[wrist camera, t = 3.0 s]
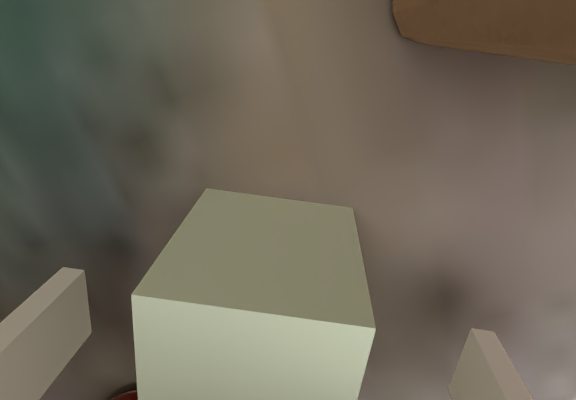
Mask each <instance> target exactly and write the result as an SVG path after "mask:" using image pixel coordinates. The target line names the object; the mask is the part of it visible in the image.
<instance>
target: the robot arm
mask: <svg viewBox="0 0 576 400" xmlns="http://www.w3.org/2000/svg"><path fill="white" fill-rule="evenodd" d="M91 333H92V330H91V321H90V312H89V304H88V295H87V286H86V277H85V270H80V269H73V268H67V267H62V268H61V269H60V270H59V271H58V272H57V273H56V274H55V275H53V276H52V277H51V278H50V279H49V280H48V281H47V282H45V283H44V284H43V285H42V286H41V287H40V288H39V289H38V290H36V291H35V292H34V293H33V294H32V295H31V296H30V297H29V298H27V299H26V300H25V301H24V302H23V303H22V304H21V305H20V306H18V307H17V308H16V309H15V310H14V311H13V312H12V313H11V314H9V315H8V316H7V317H6V318H5V319H4V320H3V321H2V322H0V400H39V399H40V398H41V397H42V396H43V394H44V393H45V392H46V390H47V389H48V388H49V387H50V385H51V384H52V383H53V382H54V380H55V379H56V378H57V376H58V375H59V374H60V373H61V371H62V370H63V369H64V367H65V366H66V365H67V364H68V362H69V361H70V360H71V359H72V357H73V356H74V355H75V353H76V352H77V351H78V350H79V348H80V347H81V346H82V344H83V343H84V342H85V341H86V339H87V338H88V337H89V336H90V334H91ZM448 390H449V393H450V396H451V399H452V400H533V399H532V397H531V395H530V393H529V392H528V390H527V388H526V386H525V385H524V383H523V381H522V379H521V378H520V376H519V374H518V372H517V371H516V369H515V367H514V365H513V364H512V362H511V360H510V358H509V356H508V355H507V353H506V351H505V349H504V348H503V346H502V344H501V342H500V341H499V339H498V337H497V335H496V334H495V332H494V331H487V330H480V329H474V328H471V329H470V332H469V334H468V337H467V340H466V342H465V345H464V347H463V350H462V353H461V355H460V358H459V360H458V363H457V365H456V368H455V371H454V373H453V376H452V378H451V381H450V384H449V386H448Z"/></svg>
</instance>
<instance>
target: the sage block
mask: <svg viewBox="0 0 576 400" xmlns="http://www.w3.org/2000/svg"><path fill="white" fill-rule="evenodd" d="M131 301H132V316H133V332H134V347H135V363H136V378H137V394H138V400H357V399H358V395H359V391H360V387H361V384H362V380H363V376H364V372H365V368H366V365H367V361H368V357H369V353H370V349H371V346H372V342H373V338H374V334H375V331H376V326H375V321H374V315H373V310H372V305H371V300H370V295H369V290H368V284H367V279H366V274H365V269H364V264H363V258H362V253H361V248H360V243H359V238H358V233H357V227H356V222H355V217H354V212H353V208H351V207H343V206H336V205H328V204H321V203H313V202H306V201H298V200H291V199H283V198H276V197H268V196H261V195H253V194H245V193H238V192H230V191H223V190H215V189H208V188H206V189H205V191H204V192H203V194H202V195H201V196H200V198H199V199H198V201H197V202H196V203H195V205H194V206H193V208H192V209H191V211H190V212H189V213H188V215H187V216H186V218H185V219H184V220H183V222H182V223H181V225H180V226H179V228H178V229H177V230H176V232H175V233H174V235H173V236H172V237H171V239H170V240H169V242H168V243H167V245H166V246H165V247H164V249H163V250H162V252H161V253H160V254H159V256H158V257H157V259H156V260H155V262H154V263H153V264H152V266H151V267H150V269H149V270H148V271H147V273H146V274H145V276H144V277H143V279H142V280H141V281H140V283H139V284H138V286H137V287H136V288H135V290H134V291H133V293H132V294H131Z"/></svg>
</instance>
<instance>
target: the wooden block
mask: <svg viewBox="0 0 576 400" xmlns="http://www.w3.org/2000/svg"><path fill="white" fill-rule="evenodd" d="M393 15H394V17H395V20H396V23H397V25H398V28H399V31H400V34H401V36H403V37H405V38H408V39H411V40H414V41H417V42H419V43H422V44H426V45H433V46H440V47H448V48H455V49H462V50H469V51H476V52H484V53H491V54H498V55H505V56H512V57H520V58H527V59H534V60H541V61H549V62H556V63H563V64H570V65H576V0H393Z"/></svg>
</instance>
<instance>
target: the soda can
mask: <svg viewBox="0 0 576 400" xmlns="http://www.w3.org/2000/svg"><path fill="white" fill-rule="evenodd" d="M111 400H138V394H137V389H135V390H132V391H129V392H126V393H123V394H120V395H118V396H116V397H114V398H113V399H111Z"/></svg>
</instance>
